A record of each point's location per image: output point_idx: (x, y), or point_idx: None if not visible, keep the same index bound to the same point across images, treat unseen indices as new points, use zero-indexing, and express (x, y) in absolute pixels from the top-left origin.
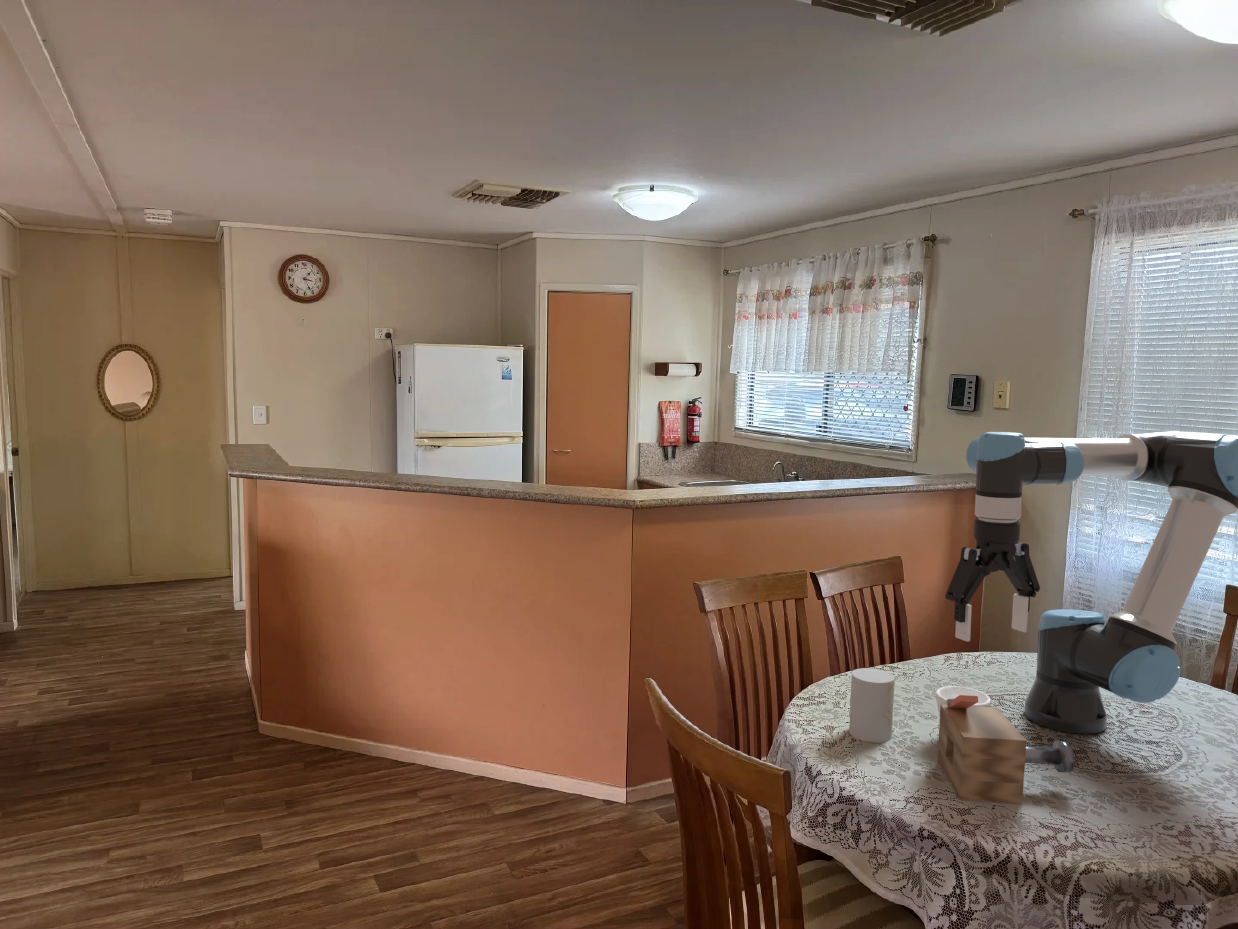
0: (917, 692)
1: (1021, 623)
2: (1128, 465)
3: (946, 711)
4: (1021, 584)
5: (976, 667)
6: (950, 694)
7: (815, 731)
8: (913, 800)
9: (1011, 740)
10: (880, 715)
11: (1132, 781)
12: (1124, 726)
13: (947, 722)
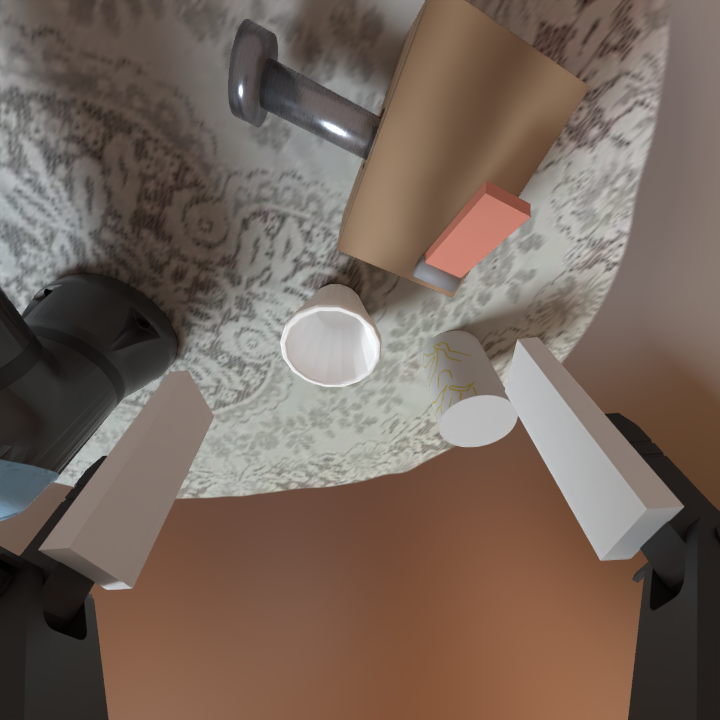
0: (296, 434)
1: (176, 409)
2: None
3: None
4: (22, 710)
5: None
6: (330, 373)
7: None
8: (593, 128)
9: (476, 8)
10: (474, 355)
11: (89, 59)
12: (10, 285)
13: None
